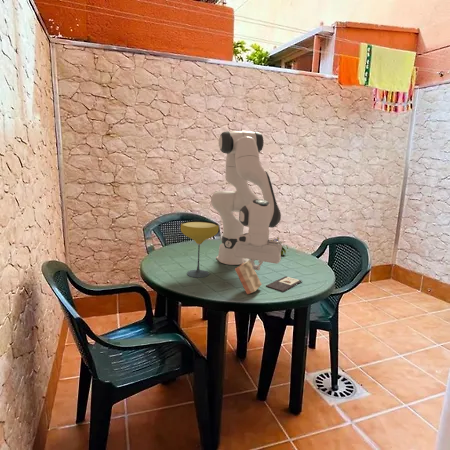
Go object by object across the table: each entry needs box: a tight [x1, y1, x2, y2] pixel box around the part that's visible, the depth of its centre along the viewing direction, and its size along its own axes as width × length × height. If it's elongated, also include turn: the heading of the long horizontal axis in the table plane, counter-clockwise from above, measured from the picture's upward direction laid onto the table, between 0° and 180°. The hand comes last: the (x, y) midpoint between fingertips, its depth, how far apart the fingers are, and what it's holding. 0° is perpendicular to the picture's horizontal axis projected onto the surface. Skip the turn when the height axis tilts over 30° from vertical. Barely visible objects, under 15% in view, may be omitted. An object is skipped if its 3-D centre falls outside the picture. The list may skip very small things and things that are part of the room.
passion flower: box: [271, 237, 289, 256], centre depth 210 cm, size 11×11×12 cm
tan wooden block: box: [234, 260, 263, 295], centre depth 149 cm, size 9×4×12 cm
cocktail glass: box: [180, 219, 220, 279], centre depth 166 cm, size 18×18×25 cm
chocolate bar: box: [265, 276, 302, 293], centre depth 160 cm, size 9×1×18 cm
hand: (256, 269), depth 147 cm, fingers closed
